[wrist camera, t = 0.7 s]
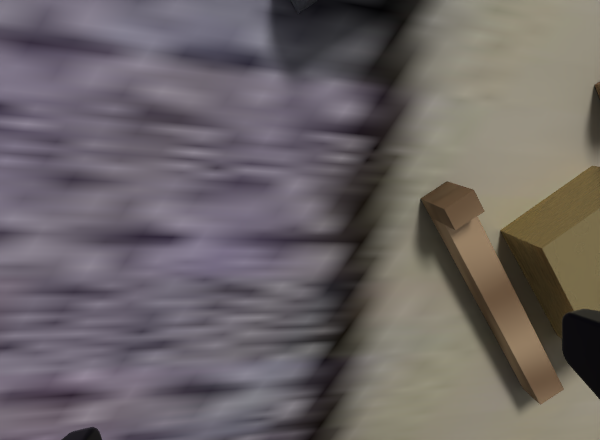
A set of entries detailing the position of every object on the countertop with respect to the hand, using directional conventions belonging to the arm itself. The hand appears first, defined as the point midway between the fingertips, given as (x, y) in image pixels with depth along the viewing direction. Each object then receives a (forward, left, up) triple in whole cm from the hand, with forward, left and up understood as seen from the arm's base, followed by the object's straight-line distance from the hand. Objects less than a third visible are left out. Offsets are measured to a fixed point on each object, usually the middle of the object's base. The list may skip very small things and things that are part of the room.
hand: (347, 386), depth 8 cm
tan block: (-11, -13, -14) cm, 22 cm away
